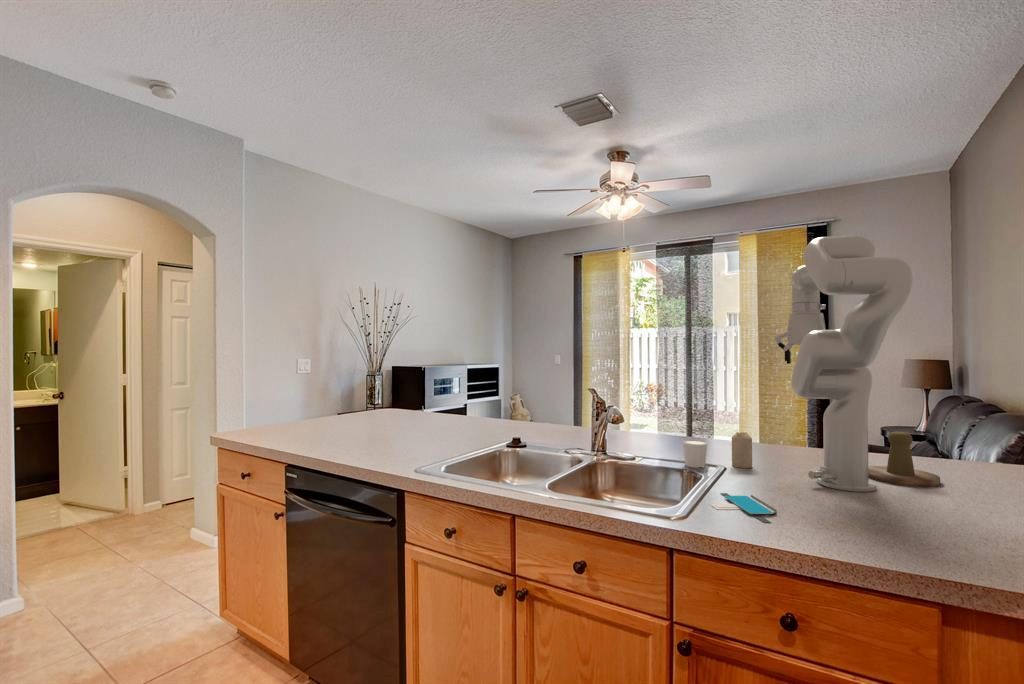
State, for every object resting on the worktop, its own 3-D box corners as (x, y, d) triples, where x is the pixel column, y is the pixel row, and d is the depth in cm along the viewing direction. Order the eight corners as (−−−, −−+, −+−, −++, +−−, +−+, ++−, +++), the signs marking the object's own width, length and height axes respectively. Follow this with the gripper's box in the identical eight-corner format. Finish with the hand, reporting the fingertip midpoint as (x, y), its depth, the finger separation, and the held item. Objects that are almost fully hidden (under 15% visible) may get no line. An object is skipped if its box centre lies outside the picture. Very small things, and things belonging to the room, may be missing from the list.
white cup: (709, 468, 144) (709, 444, 144) (685, 467, 145) (684, 444, 146) (705, 463, 151) (705, 440, 151) (681, 462, 152) (681, 439, 152)
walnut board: (906, 488, 123) (906, 482, 123) (850, 473, 138) (849, 467, 138) (956, 484, 126) (956, 479, 126) (895, 469, 142) (895, 464, 142)
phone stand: (695, 496, 119) (695, 489, 119) (744, 495, 120) (744, 488, 120) (734, 526, 99) (734, 517, 99) (792, 525, 100) (792, 517, 100)
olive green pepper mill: (883, 469, 136) (882, 429, 136) (909, 471, 134) (909, 430, 134) (891, 474, 131) (890, 433, 131) (919, 476, 128) (918, 434, 129)
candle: (743, 469, 143) (743, 434, 143) (727, 465, 148) (727, 432, 148) (756, 467, 146) (756, 433, 146) (740, 463, 151) (739, 430, 151)
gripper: (839, 308, 151) (840, 364, 151) (776, 311, 162) (777, 363, 162) (837, 306, 145) (838, 364, 145) (772, 309, 156) (773, 363, 156)
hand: (806, 363), depth 153 cm, fingers open, 9 cm apart
